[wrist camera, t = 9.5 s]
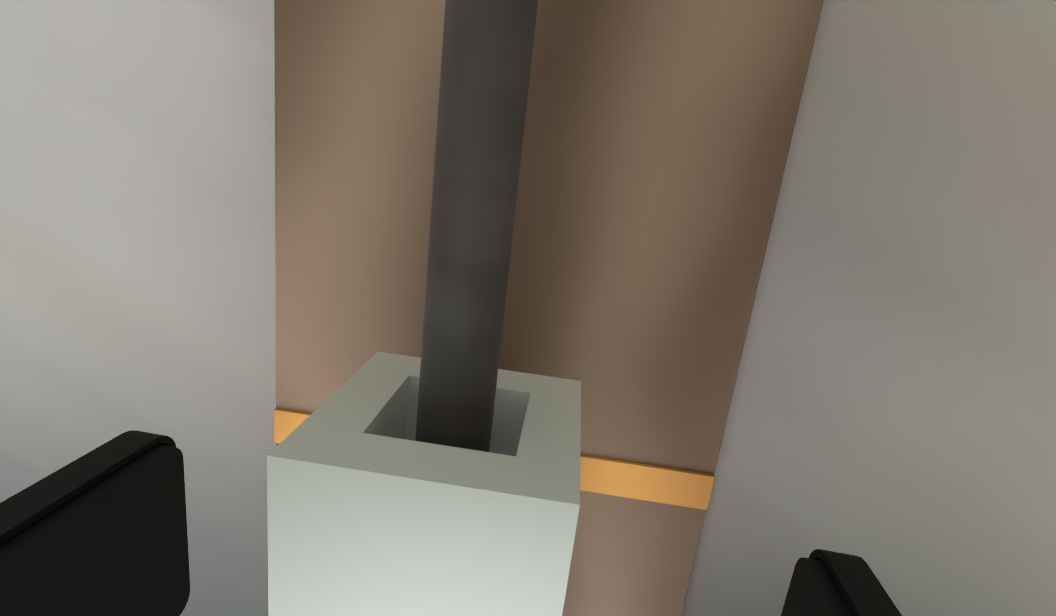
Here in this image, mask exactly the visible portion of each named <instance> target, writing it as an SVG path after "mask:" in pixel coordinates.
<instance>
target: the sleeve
mask: <svg viewBox="0 0 1056 616" xmlns="http://www.w3.org/2000/svg"><path fill="white" fill-rule="evenodd" d="M420 365H421V358H419V357H412V356H405V355H398V354H391V353H384V352H377V353H376V354H375V355H374V356H373V357H372V358H371V359H369V360H368V361H367V362H366V363H365V364H364V365H363V366H362V367H361V368H360V369H359V370H358V371H357V372H356V373H355V374H353V375H352V376H351V377H350V378H349V379H348V380H347V381H346V382H345V383H344V384H343V385H342V386H341V387H340V388H339V389H337V390H336V391H335V392H334V393H333V394H332V395H331V396H330V397H329V398H328V399H327V400H326V401H325V402H324V403H323V404H321V405H320V406H319V407H318V408H317V409H316V410H315V411H314V412H313V413H312V414H311V415H310V416H309V417H308V418H307V419H305V420H304V421H303V422H302V423H301V424H300V425H299V426H298V427H297V428H296V429H295V430H294V431H293V432H292V433H291V434H289V435H288V436H287V437H286V438H285V439H284V440H283V441H282V442H281V443H280V444H279V445H278V446H277V447H276V448H275V449H273V450H272V451H271V452H270V453H269V454H268V455H267V506H268V606H269V616H562V614H563V607H564V601H565V595H566V589H567V583H568V576H569V570H570V564H571V558H572V552H573V545H574V539H575V533H576V527H577V521H578V514H579V508H580V451H581V381H578V380H571V379H564V378H557V377H550V376H544V375H537V374H530V373H523V372H516V371H509V370H502V369H498V376H497V385H496V394H495V403H494V413H493V422H492V431H491V440H490V449H489V452H484V451H477V450H471V449H464V448H458V447H451V446H445V445H438V444H432V443H425V442H419V441H415V438H416V424H417V409H418V394H419V380H420Z"/></svg>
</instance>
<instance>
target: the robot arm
mask: <svg viewBox="0 0 1056 616" xmlns="http://www.w3.org/2000/svg"><path fill="white" fill-rule="evenodd" d="M189 594H190V578H189V559H188V540H187V521H186V502H185V483H184V464H183V455H182V452H181V450H180V449H178V448H176V444H175V442H174V441H173V439H172V438H170V437H168V436H164V435H158V434H152V433H147V432H141V431H128V432H125V433H123V434H121V435H119V436H117V437H115V438H114V439H112V440H110V441H108V442H107V443H105V444H103V445H101V446H100V447H98V448H96V449H94V450H93V451H91V452H89V453H87V454H86V455H84V456H82V457H80V458H79V459H77V460H75V461H73V462H72V463H70V464H68V465H66V466H65V467H63V468H61V469H59V470H58V471H56V472H54V473H52V474H51V475H49V476H47V477H45V478H44V479H42V480H40V481H38V482H37V483H35V484H33V485H31V486H30V487H28V488H26V489H24V490H22V491H21V492H19V493H17V494H15V495H14V496H12V497H10V498H8V499H7V500H5V501H3V502H1V503H0V616H179V615H180V614H181V613H182V611H183V609H184V608H185V606H186V603H187V601H188V598H189ZM781 616H902V615H901V614H900V612H899V611H898V609H897V608H896V606H895V605H894V603H893V602H892V600H891V599H890V597H889V596H888V594H887V593H886V591H885V590H884V588H883V587H882V585H881V584H880V582H879V581H878V579H877V578H876V576H875V575H874V573H873V572H872V570H871V569H870V567H869V566H868V564H867V563H866V562H865V561H864V560H863V559H862V558H861V557H858V556H854V555H849V554H843V553H837V552H831V551H826V550H820V549H817V550H814V551H813V552H812V553H811V554H810V556H809V558H800V559H799V560H798V561H797V563H796V566H795V569H794V572H793V576H792V579H791V583H790V586H789V590H788V593H787V597H786V600H785V603H784V607H783V610H782V614H781Z"/></svg>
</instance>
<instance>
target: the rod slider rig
mask: <svg viewBox="0 0 1056 616" xmlns="http://www.w3.org/2000/svg"><path fill="white" fill-rule="evenodd" d="M274 2H275V209H276V409H275V410H274V442H275V443H277V446H278V445H279V444H280V443H281V442H282V441H283V440H284V439H285V438H286V437H287V436H288V435H289V434H291V433H292V432H293V431H294V430H295V429H296V428H297V427H298V426H299V425H300V424H301V423H302V422H303V421H304V420H305V419H307V418H308V417H309V416H310V415H311V414H312V413H313V412H314V411H315V410H316V409H317V408H318V407H319V406H320V405H321V404H323V403H324V402H325V401H326V400H327V399H328V398H329V397H330V396H331V395H332V394H333V393H334V392H335V391H336V390H337V389H339V388H340V387H341V386H342V385H343V384H344V383H345V382H346V381H347V380H348V379H349V378H350V377H351V376H352V375H353V374H355V373H356V372H357V371H358V370H359V369H360V368H361V367H362V366H363V365H364V364H365V363H366V362H367V361H368V360H369V359H371V358H372V357H373V356H374V355H375V354H376V353H377V352H384V353H391V354H398V355H405V356H412V357H419V358H421V365H420V380H419V394H418V409H417V424H416V438H415V441H419V442H425V443H432V444H438V445H445V446H451V447H458V448H464V449H471V450H477V451H484V452H489V449H490V440H491V431H492V422H493V413H494V403H495V394H496V385H497V376H498V369H502V370H509V371H516V372H523V373H530V374H537V375H544V376H550V377H557V378H564V379H571V380H578V381H581V451H580V508H579V514H578V521H577V527H576V533H575V539H574V545H573V552H572V558H571V564H570V570H569V576H568V583H567V589H566V595H565V601H564V607H563V614H562V616H681V615H682V610H683V606H684V602H685V597H686V593H687V589H688V584H689V580H690V576H691V571H692V567H693V563H694V558H695V554H696V550H697V545H698V541H699V537H700V533H701V528H702V524H703V520H704V515H705V511H706V510H707V509H708V505H709V500H710V496H711V492H712V487H713V483H714V479H715V476H714V472H715V468H716V463H717V459H718V455H719V450H720V446H721V442H722V437H723V433H724V429H725V424H726V420H727V416H728V411H729V407H730V403H731V398H732V394H733V390H734V385H735V381H736V377H737V372H738V368H739V364H740V359H741V355H742V351H743V346H744V342H745V338H746V333H747V329H748V325H749V320H750V316H751V312H752V307H753V303H754V299H755V294H756V290H757V286H758V281H759V277H760V273H761V268H762V264H763V260H764V255H765V251H766V247H767V242H768V238H769V234H770V229H771V225H772V221H773V216H774V212H775V208H776V203H777V199H778V195H779V190H780V186H781V182H782V177H783V173H784V169H785V164H786V160H787V156H788V151H789V147H790V143H791V138H792V134H793V130H794V125H795V121H796V117H797V112H798V108H799V104H800V99H801V95H802V91H803V86H804V82H805V78H806V74H807V69H808V65H809V61H810V56H811V52H812V48H813V43H814V39H815V35H816V30H817V26H818V22H819V17H820V13H821V9H822V4H823V0H274Z"/></svg>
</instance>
